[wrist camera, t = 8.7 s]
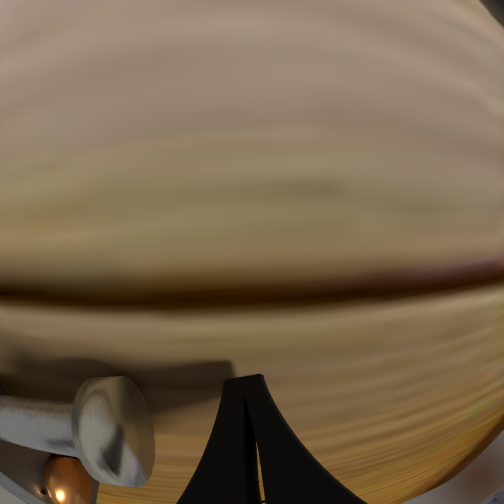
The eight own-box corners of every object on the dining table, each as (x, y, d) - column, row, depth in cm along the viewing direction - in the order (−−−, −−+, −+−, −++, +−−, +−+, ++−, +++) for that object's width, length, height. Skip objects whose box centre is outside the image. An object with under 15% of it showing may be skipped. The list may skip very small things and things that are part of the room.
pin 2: (62, 446, 13) (48, 500, 9) (96, 475, 14) (88, 522, 11) (-35, 420, 12) (-50, 455, 8) (-6, 449, 14) (-17, 482, 10)
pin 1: (117, 352, 10) (89, 452, 6) (158, 418, 12) (151, 502, 8) (-50, 354, 9) (-81, 401, 5) (-12, 405, 11) (-34, 452, 7)
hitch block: (99, 482, 16) (92, 528, 11) (55, 474, 15) (46, 515, 11) (-44, 317, 9) (-89, 375, 4) (-75, 321, 8) (-111, 366, 4)
